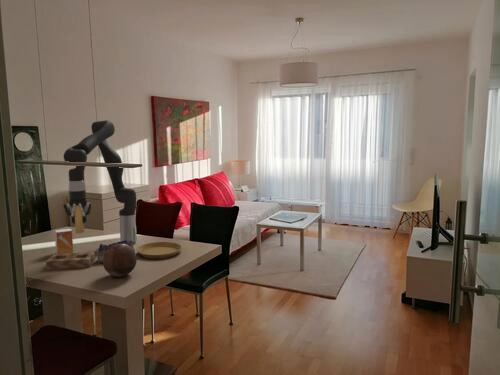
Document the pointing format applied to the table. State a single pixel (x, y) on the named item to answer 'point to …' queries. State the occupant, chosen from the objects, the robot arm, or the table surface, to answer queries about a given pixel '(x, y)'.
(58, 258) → the hole block
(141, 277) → the table surface
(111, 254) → the wooden sphere
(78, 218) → the peg
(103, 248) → the geode
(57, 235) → the small box
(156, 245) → the plant saucer
